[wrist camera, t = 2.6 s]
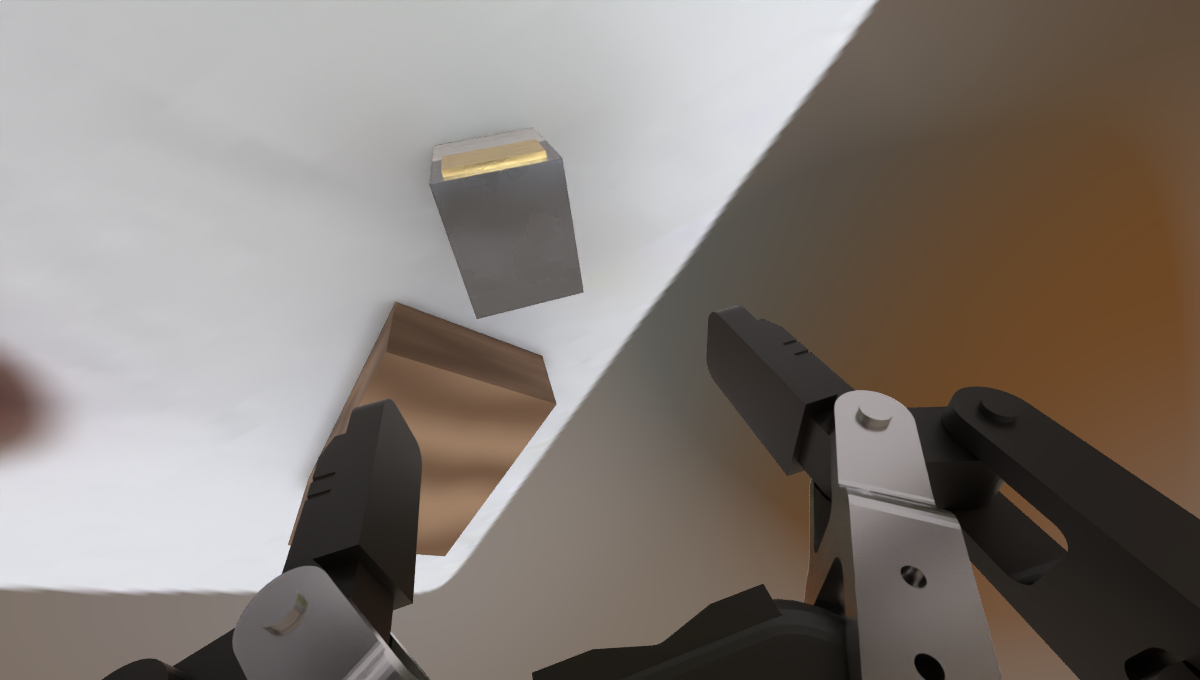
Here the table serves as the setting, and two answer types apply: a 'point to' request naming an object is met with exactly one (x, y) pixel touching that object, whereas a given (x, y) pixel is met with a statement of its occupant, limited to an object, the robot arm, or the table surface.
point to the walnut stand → (452, 413)
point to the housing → (507, 219)
